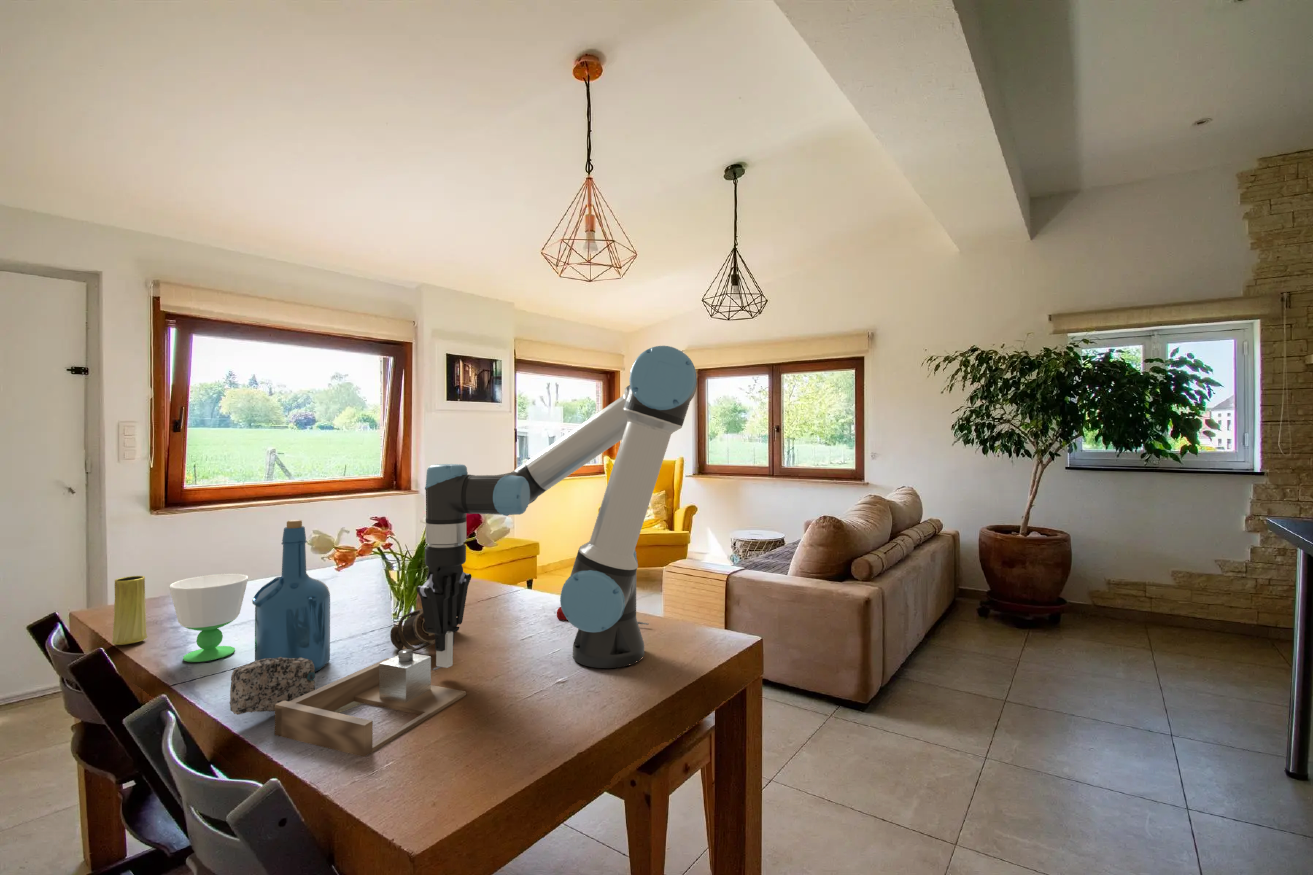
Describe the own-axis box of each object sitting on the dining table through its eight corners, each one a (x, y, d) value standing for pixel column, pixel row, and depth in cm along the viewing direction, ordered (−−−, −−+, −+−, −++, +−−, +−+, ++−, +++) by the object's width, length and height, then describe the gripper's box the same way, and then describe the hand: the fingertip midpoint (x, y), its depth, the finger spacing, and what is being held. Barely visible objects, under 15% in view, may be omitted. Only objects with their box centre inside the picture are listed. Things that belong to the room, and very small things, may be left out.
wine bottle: (320, 651, 130) (320, 514, 130) (339, 669, 120) (340, 520, 120) (245, 668, 120) (245, 520, 120) (259, 688, 110) (260, 527, 111)
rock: (303, 653, 107) (319, 651, 105) (302, 705, 105) (318, 704, 103) (228, 663, 96) (244, 660, 94) (224, 721, 94) (241, 719, 92)
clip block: (430, 689, 108) (430, 648, 108) (405, 702, 103) (406, 659, 103) (404, 684, 110) (405, 643, 110) (379, 697, 105) (379, 654, 105)
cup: (255, 653, 128) (256, 580, 128) (174, 671, 118) (175, 592, 118) (239, 639, 138) (240, 570, 138) (163, 654, 127) (163, 580, 128)
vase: (105, 642, 135) (105, 579, 135) (137, 634, 140) (137, 574, 140) (121, 646, 132) (121, 582, 132) (153, 638, 138) (153, 576, 138)
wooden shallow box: (466, 697, 107) (466, 669, 107) (364, 759, 86) (364, 725, 86) (387, 681, 114) (387, 655, 114) (274, 736, 93) (274, 704, 93)
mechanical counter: (428, 662, 124) (428, 614, 124) (373, 657, 126) (374, 610, 126) (446, 650, 131) (447, 605, 131) (395, 646, 133) (395, 601, 133)
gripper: (452, 537, 123) (451, 651, 123) (405, 547, 110) (403, 674, 110) (483, 539, 120) (481, 656, 120) (437, 551, 108) (436, 681, 108)
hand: (444, 665), depth 115 cm, fingers closed
